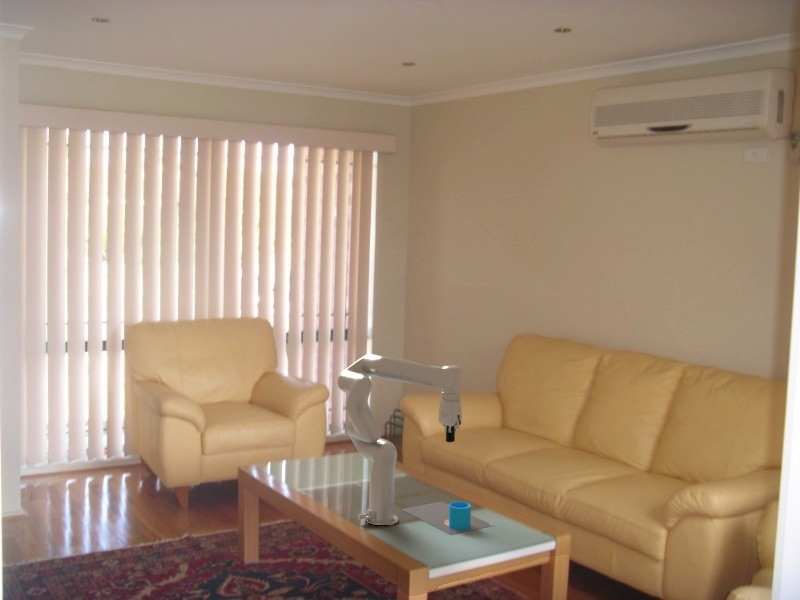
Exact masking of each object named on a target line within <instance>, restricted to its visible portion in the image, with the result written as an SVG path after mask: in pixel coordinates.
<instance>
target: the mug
mask: <svg viewBox="0 0 800 600" xmlns="http://www.w3.org/2000/svg"><path fill="white" fill-rule="evenodd" d="M471 513H472V505H471V503H469V502H464V501H453V502H451V503H449V527H450V528H452V529H455V530H466V529H469V528H470V527H471V515H472V514H471Z"/></svg>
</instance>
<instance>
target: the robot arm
mask: <svg viewBox="0 0 800 600" xmlns="http://www.w3.org/2000/svg"><path fill="white" fill-rule="evenodd" d="M461 369H462V368H461V367H460V366H459V365H455V364H454V365H453V364H451V365H449V364H448V365H442V366H441V365H426V364H422V363H419V362H415V361H412V360H408V359H403V358H398V357H397V358H395V357H390V356H385V355H380V354H375V353H367V354H365V355H363V356H362V357H361V358H359V359H358V360H356V361H355V362H354V363H352V364H351V365H350V366H348V367H347V368H346V369H344V370H343V371H342V372H341V373H340V374H339V376H337V377H338V378H337V381H336V382H337V386H338V388H339V390H341V391H342V392H344V393H346V394H348V395H347V400H346V403H345V411H346V414H347V416H348V419H347V422H346V424H345V425H346V428H345V429H346V432H347V435H348V437H349V439H350V440H351V442H352V443H353V446H354V447H355V449H356V450H357V452H358V453H359V454H360V456H361V457H363V458H364V459H366V460H367V461H370V462H372V465H371V468H370V471H369V477H368V479H369V481H368V482H369V484H368V485H369V493H368V495H369V498H368V501H369V502H368V503H369V505H368V509H366V512H364V513H358V514H357V519H358V520H363V519H364V521H365V520H366V521H367V522H369V523H372V524H377V525H389V526H393V525H395V523H396V524H397V523H398V521H399V517H398V515H395V470H396V463H397V459H398V458H397V457H398V452H397V448H396V446H395V445H394V444H393V443H392V442H391V441H389V440H388V439H385V438H382V428H381V425H380V423H379V422H378V420H377V418H376V417H375V415H374V414H373V411H372V409H371V408H370V406H369V397H370V395H371V391H372V389H373V387H372V385H373V384H372V380H371V379H370V378H369V377H374V378H376V379H382V380H388V381H394V382H401V383H407V384H411V385H412V384H414V385H422V386H428V387H435V388H441V398H440V400H439V408H438V422H439V423H440V424H441V425H442V426H444V431H445V442H446V443H454V442H455V441H456V440H455V439H456V437H455V436H456V431H457V430H460V428H461V427H460V426H461V425H462V419H463V418H462V415H463V413H462V403H461V386H462V385H461V382H462V381H461V380H462V378H461V377H462V375H461V374H462V372H461V371H462V370H461Z"/></svg>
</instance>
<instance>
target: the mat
mask: <svg viewBox="0 0 800 600" xmlns="http://www.w3.org/2000/svg"><path fill="white" fill-rule="evenodd" d="M449 504H450V503H449ZM449 504H448V503H447V502H444V501H443V500H442V501H436V502H432V503H426V504H422V505H420V504H419V505H417V506H416V505H415V506H410V507H406V508H401V509H400V510H401V511H403V512H404V513H407V514H409V515H411V516H413V517H415V518H417V519H418V520H421V521H423V522H425V523H427V524H429V525H431V526H433V527H434V528H437V529H438V530H441V531H443V532H444V533H447V534H448V535H450V536H452V535H457V534H461V533H466V531H467V532H471V531H475V530H479V529H483V528H484V529H485V528H489V527H490V526H489V525H490V524H491V523H490V524H489V522H487V521H485V520H484V519H481V518H479V517H477V516H475V515H472V514H471V527H470V528H469V529H466V530H455V529H452V528H450V527H449Z"/></svg>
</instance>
